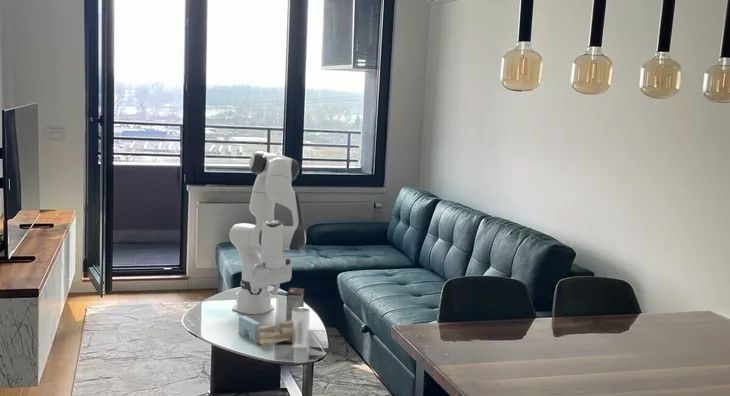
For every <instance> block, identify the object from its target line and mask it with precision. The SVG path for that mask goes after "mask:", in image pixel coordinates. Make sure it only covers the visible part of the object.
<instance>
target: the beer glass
mask: <svg viewBox="0 0 730 396" xmlns="http://www.w3.org/2000/svg"><path fill="white" fill-rule="evenodd" d="M310 318H311V317H310V309H309V308H308V307H305V306H303V307H295V308H293V309H292V318H291V325H292V333H293V340H292V342H291V348H292V349H294V350H305V349H307V348H308V342H307V341H308V339H307V338H308V331H309V327H310V320H311V319H310Z"/></svg>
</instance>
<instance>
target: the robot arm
mask: <svg viewBox="0 0 730 396" xmlns="http://www.w3.org/2000/svg"><path fill="white" fill-rule="evenodd" d="M248 164H249V170H250V173H252V174H254V175H256V178H255V180H254V184H253V187H252V192H251V196H250V201H249V206H248V209H249V212H250V213H251V214H252V215H253V216H254V218H255V221H256V222H255V224H253V223H248V222H247V223H246V222H243V223H242V222H241V223H235V224H234V225H233V226H232V227H231V228H230V230H229V234H228V235H229V240H230V242H231V243H230V244H232V245H233V246H234V247H235V248H236V250H237V252H238V254H239V256H240V262H241V279H240V289H239V290H238V291H237V292H236V293H235V298H236V300H235V303H234V304H233V306H232V311H235V312H239V313H242V314H247V315H248V314H249V315H260V314H265V313H268V312H270V311H273V310H275V307H274V305H273V304H272V303H271V300H272V299H271V297H272V296H276V295H278V291H279V289H280V286H281V284H284V283H287V282H290V281H291V279H292V273H293V272H292V271H293V270H292V269H293V268H292V263H293V260H292V259H291V258H289V257H285V256H284V251H292V252H299V251H301V250H302V249H304V248H305V246H306V243H307V235H306V234H307V233H306V231H305V227H304V219H303V213H302V206H301V201H300V196H299V193H297V192H296V191H295V190H294V188H293V185H292V182H293V181H294V180H296V178H297V176H299V175H298V174H299V172H300V164H299V162H298V161H297V160H296V159H294V158H292V157H288V156H285V155H282V154H279V153H274V152H273V153H272V152H271V153H270V152H265V151H263V150H257V151H255V152H254V153H252V155H251V157H250V158H249V162H248ZM276 204H278V205H280V206H281V205H282V206H284V207H285V208H287V209H289V211H290V212H291V216H292V223H293V224H292V225H290V226H289V225H284V224H283V223H284V222H282V221H281V220H279V219H275V206H276ZM259 251H260V252H259ZM271 286H273V289H272V290H269V287H271ZM271 295H272V296H271Z"/></svg>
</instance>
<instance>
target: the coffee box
mask: <svg viewBox="0 0 730 396" xmlns="http://www.w3.org/2000/svg"><path fill="white" fill-rule="evenodd" d="M304 302H305V288H299V287H289V288H288V291H287V293H286V311H285V312H286V313H285V315H286V316H285V321H289V320H291V318H292V309H293V308H295V307H305V305H304Z"/></svg>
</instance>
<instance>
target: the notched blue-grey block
mask: <svg viewBox="0 0 730 396" xmlns="http://www.w3.org/2000/svg"><path fill="white" fill-rule="evenodd" d="M261 326H262V323H261V322H259V321H257V320H254V319H253V318H251V317H248V316H246V315H239V316H238V334H240V335H241V336H244V337H246V336H248V339H249V340H251V341H252V342H256V341H257V340H258V330H259V327H261Z"/></svg>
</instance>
